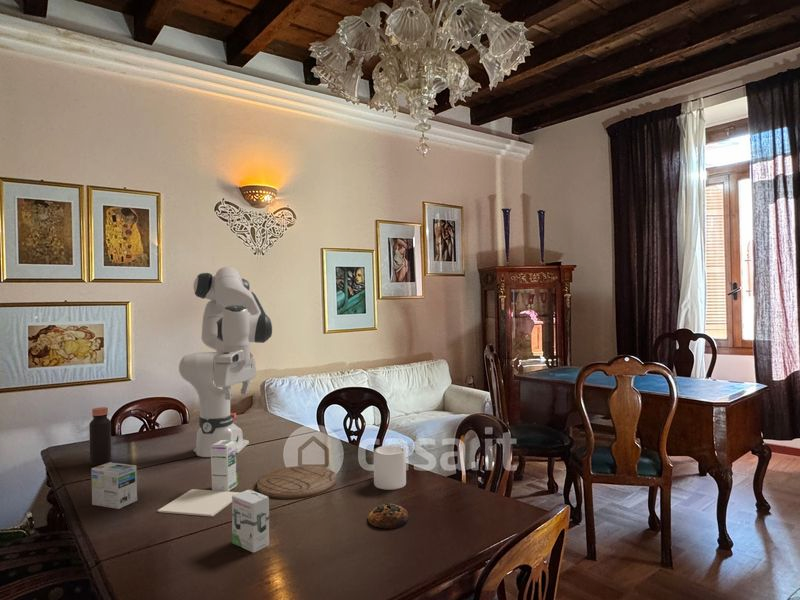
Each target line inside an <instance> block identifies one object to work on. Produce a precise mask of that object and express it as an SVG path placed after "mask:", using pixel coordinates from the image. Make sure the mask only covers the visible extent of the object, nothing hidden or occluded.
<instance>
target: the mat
mask: <svg viewBox="0 0 800 600" xmlns="http://www.w3.org/2000/svg"><path fill="white" fill-rule="evenodd" d="M238 493H241V492H240V491H239V492H238V491H236V492H235V491H229V492H226V491H212V489H211V490H210V489H199V488H195V489H194V488H192V489H190V490H188V491H187V492H185V493H183V494H182V495H180V496H179V497H177V498H175V499H174V500H172V501H171V502H169V503H167V504H165V505H164V506H162V507H161V508H159V509H157V512H158V513H165V514H176V515H177V514H179V515H187V516H189V515H191V516H201V517H214V516H215V515H216V514H218V513H219V512H221V511H222V510H223V509H224V508H226V507H227V506H229V505H230V504H232V496H233V495H236V494H238Z"/></svg>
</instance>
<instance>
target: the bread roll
mask: <svg viewBox="0 0 800 600" xmlns="http://www.w3.org/2000/svg"><path fill="white" fill-rule="evenodd" d="M367 519H368V522H369V524H371V525H372V526H373V527H376V528H381V529H396V528H401V527H404V526H405V525H406V524H407V523H408V520H409V513H408V511H407V509H405V508H404V507H403V506H401V505H397V504H394V503H384V504H382V505H380V506H377V507H375V508H374V509H372V510H371V511H370V512H369V515H367Z"/></svg>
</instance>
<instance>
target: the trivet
mask: <svg viewBox="0 0 800 600" xmlns="http://www.w3.org/2000/svg"><path fill="white" fill-rule="evenodd" d="M337 477H338V476H337V474H336V473H335V472H334V471H333V470H332V469H329V468H328V467H323V466H318V465H317V466H316V465H315V466H314V465H297V466H289V467H288V466H287V467H282V468H278V469H274V470H272V471H269V472H267V473H265V474H263V475H262V476H260V477H259V478H258V480H257V481H256V483H257V485H256V486H257V487H256V488H257V489H256V490H257V491H258V493H260V494H263V495H265V496H268V498H273V499H283V500H287V499H288V500H290V499H291V500H292V499H293V500H294V499H303V498H304V499H305V498H309V497H314V496H318V495H321V494H324V493H326V492H328V491H329V490H331V489H333V488H334V487H335V485H336V484H337Z"/></svg>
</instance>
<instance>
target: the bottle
mask: <svg viewBox="0 0 800 600" xmlns="http://www.w3.org/2000/svg"><path fill="white" fill-rule="evenodd" d="M91 412H92V413H91V414H92V415H91V416H92V417H93V418H92V420H91V421H90V422H89V424H88V425H89V426H88V427H89V464H90V466H95V467H98V466H101V465H104V464H107V463H109V462H112V421H111V420H110V419H109V418H108V414H109V407H106V406H103V407H101V406H100V407H95V408H92V410H91Z"/></svg>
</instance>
